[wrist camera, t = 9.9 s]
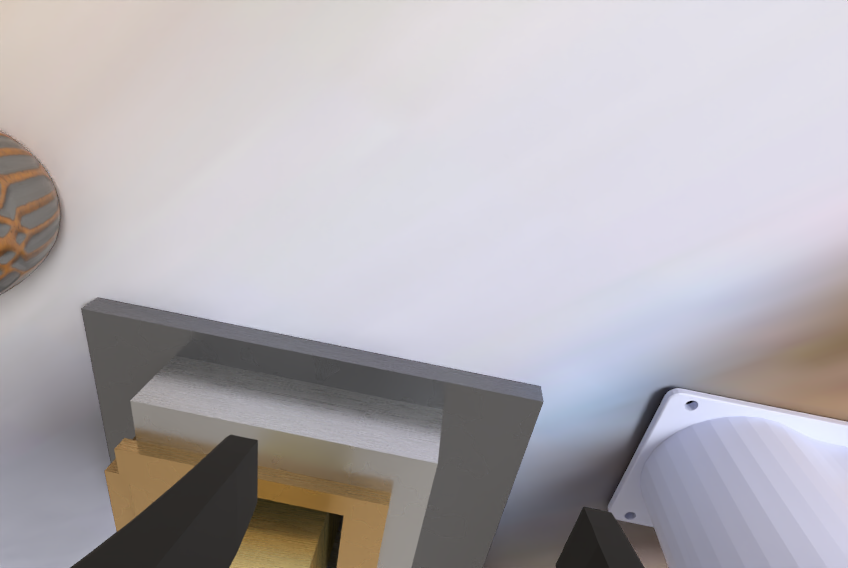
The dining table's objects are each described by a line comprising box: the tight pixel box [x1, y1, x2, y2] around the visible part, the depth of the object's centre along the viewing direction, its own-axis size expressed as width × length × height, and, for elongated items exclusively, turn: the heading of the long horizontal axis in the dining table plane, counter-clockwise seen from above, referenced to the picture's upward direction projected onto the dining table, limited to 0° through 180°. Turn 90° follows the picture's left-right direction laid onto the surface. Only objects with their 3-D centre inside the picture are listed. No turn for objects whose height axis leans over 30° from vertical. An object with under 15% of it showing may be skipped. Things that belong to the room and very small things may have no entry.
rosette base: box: [81, 298, 543, 568], centre depth 22 cm, size 20×15×5 cm
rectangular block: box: [229, 498, 341, 568], centre depth 20 cm, size 4×4×8 cm
